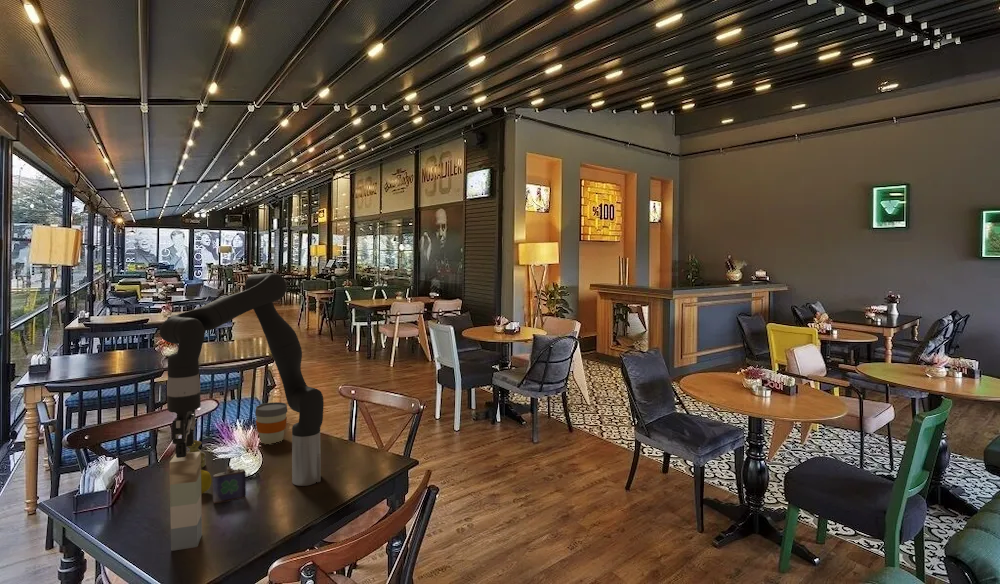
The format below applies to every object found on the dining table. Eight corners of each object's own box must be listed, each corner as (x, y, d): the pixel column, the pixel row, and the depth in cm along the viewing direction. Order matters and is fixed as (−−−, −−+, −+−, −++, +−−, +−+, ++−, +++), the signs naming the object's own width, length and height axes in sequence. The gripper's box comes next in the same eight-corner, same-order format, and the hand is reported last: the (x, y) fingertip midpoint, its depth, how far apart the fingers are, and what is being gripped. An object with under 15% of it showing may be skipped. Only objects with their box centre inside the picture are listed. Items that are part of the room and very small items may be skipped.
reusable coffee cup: (289, 443, 210) (289, 408, 209) (256, 448, 204) (256, 412, 203) (285, 434, 221) (285, 400, 220) (254, 438, 215) (254, 404, 214)
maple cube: (201, 472, 138) (200, 451, 138) (196, 481, 132) (195, 459, 132) (175, 475, 136) (175, 453, 135) (169, 484, 130) (169, 462, 130)
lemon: (202, 498, 160) (202, 474, 160) (188, 496, 161) (187, 472, 161) (215, 491, 165) (215, 467, 165) (201, 489, 167) (201, 465, 166)
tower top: (201, 493, 138) (201, 472, 138) (196, 503, 133) (196, 481, 132) (176, 496, 136) (175, 475, 136) (170, 506, 131) (169, 484, 130)
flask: (213, 504, 156) (212, 471, 156) (213, 500, 159) (212, 467, 158) (246, 498, 161) (245, 465, 161) (245, 494, 164) (245, 462, 163)
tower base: (201, 535, 139) (201, 514, 139) (197, 546, 133) (197, 525, 133) (176, 539, 137) (176, 518, 137) (171, 551, 131) (170, 528, 131)
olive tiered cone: (209, 466, 185) (209, 439, 185) (188, 473, 179) (188, 445, 178) (199, 461, 189) (199, 435, 189) (178, 468, 183) (178, 441, 182)
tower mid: (201, 514, 139) (201, 493, 138) (196, 525, 133) (196, 503, 133) (176, 518, 136) (176, 496, 136) (170, 529, 131) (170, 506, 131)
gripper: (194, 397, 127) (195, 459, 128) (205, 384, 141) (206, 440, 142) (159, 400, 125) (161, 463, 126) (174, 386, 138) (175, 443, 139)
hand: (185, 451), depth 134 cm, fingers open, 8 cm apart
